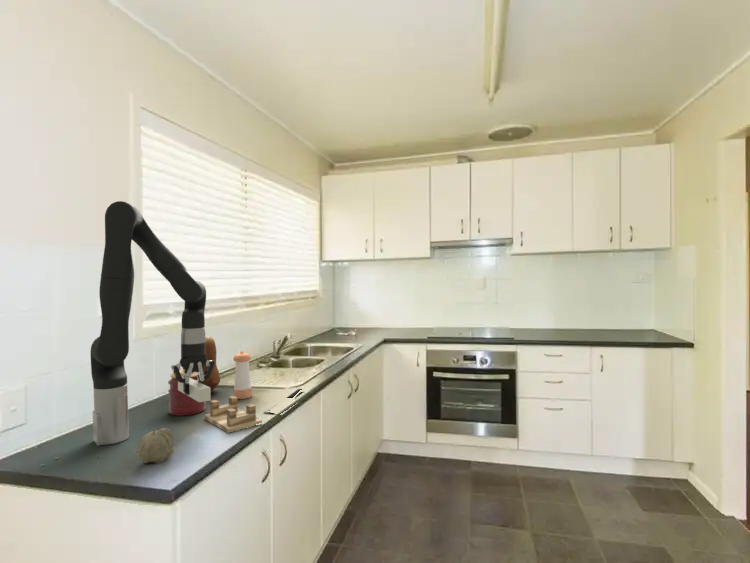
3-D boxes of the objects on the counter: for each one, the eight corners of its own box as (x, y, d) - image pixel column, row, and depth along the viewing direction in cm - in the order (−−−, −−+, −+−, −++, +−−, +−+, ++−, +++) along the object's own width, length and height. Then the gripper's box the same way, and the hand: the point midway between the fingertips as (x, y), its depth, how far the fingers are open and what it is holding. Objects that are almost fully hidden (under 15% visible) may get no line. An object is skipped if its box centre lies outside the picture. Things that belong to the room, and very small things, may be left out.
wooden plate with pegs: (261, 424, 153) (261, 405, 153) (228, 433, 145) (228, 413, 145) (236, 411, 168) (235, 394, 168) (204, 418, 160) (204, 400, 160)
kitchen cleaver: (286, 413, 162) (261, 409, 165) (286, 418, 163) (261, 413, 165) (316, 391, 193) (295, 387, 195) (316, 395, 193) (294, 391, 195)
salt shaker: (238, 400, 183) (237, 353, 182) (231, 396, 188) (230, 351, 188) (254, 396, 188) (253, 351, 187) (247, 393, 193) (246, 349, 192)
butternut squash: (200, 388, 202) (199, 333, 202) (226, 390, 199) (225, 334, 198) (179, 396, 189) (178, 338, 188) (206, 398, 185) (205, 339, 185)
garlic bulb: (171, 463, 128) (183, 428, 130) (162, 471, 120) (175, 434, 122) (138, 455, 127) (151, 420, 129) (127, 463, 119) (141, 425, 121)
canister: (192, 417, 162) (191, 369, 161) (161, 415, 164) (159, 368, 164) (212, 406, 175) (211, 361, 174) (183, 404, 177) (181, 360, 177)
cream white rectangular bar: (210, 400, 141) (210, 387, 141) (199, 402, 138) (199, 389, 138) (188, 388, 156) (188, 377, 156) (177, 390, 153) (177, 378, 153)
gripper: (210, 338, 154) (210, 387, 154) (167, 342, 145) (167, 394, 145) (218, 340, 149) (219, 391, 149) (174, 344, 139) (174, 399, 139)
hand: (193, 393), depth 147 cm, fingers closed on cream white rectangular bar, 3 cm apart
